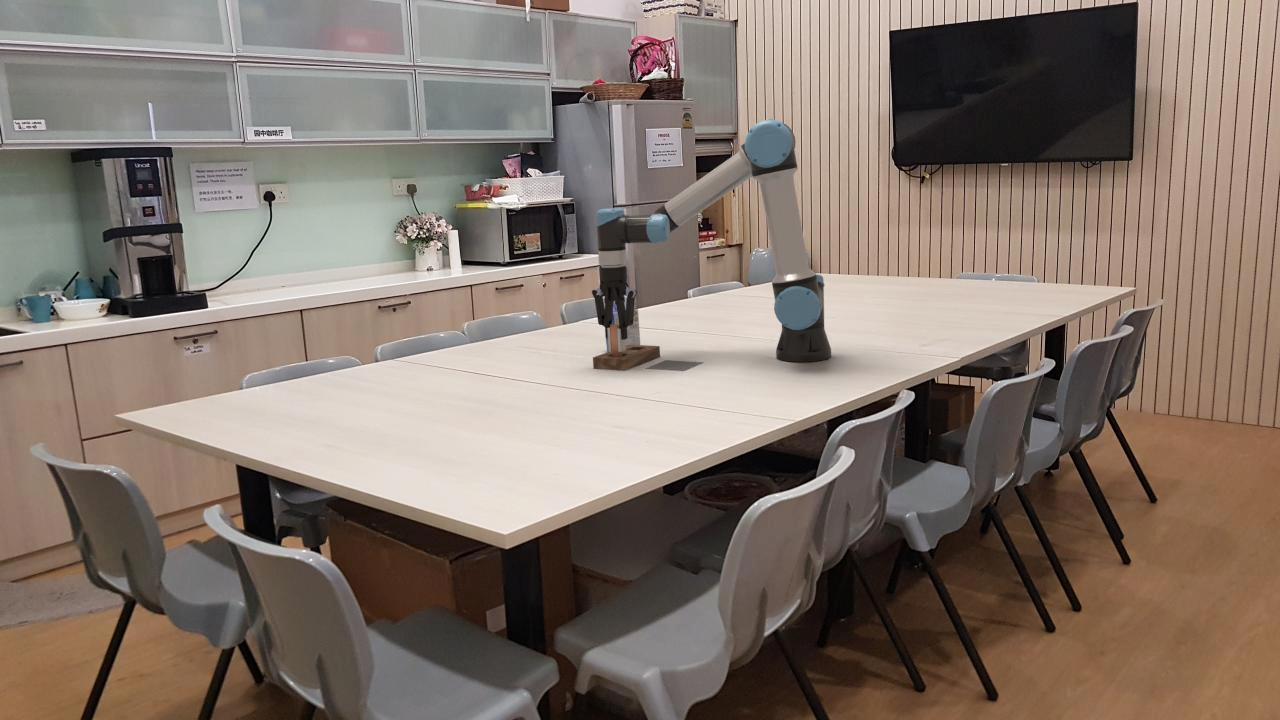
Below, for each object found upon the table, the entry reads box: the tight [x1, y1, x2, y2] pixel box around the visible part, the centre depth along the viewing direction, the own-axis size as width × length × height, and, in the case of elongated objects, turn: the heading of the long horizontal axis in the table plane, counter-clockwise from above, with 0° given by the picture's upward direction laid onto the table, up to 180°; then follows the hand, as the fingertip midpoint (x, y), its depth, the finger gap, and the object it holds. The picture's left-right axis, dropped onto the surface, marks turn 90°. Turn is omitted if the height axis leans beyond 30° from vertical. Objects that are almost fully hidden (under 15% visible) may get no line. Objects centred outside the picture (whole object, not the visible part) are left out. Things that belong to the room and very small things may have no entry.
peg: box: [610, 324, 623, 357], centre depth 274 cm, size 3×3×10 cm
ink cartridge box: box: [605, 302, 641, 353], centre depth 300 cm, size 10×6×14 cm, turn 132°
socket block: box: [592, 344, 661, 372], centre depth 279 cm, size 10×20×4 cm, turn 150°
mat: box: [644, 359, 704, 372], centre depth 272 cm, size 12×12×1 cm
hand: (617, 350), depth 275 cm, fingers closed on peg, 2 cm apart
